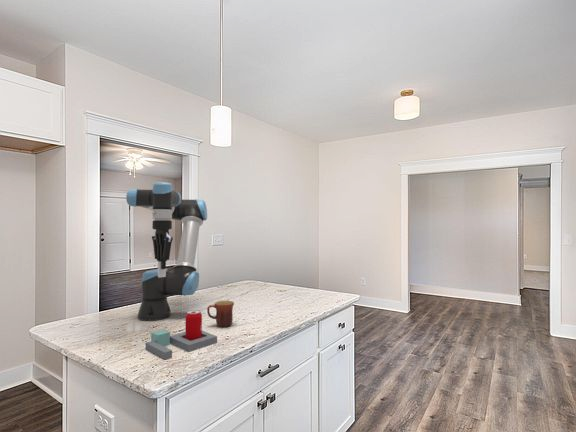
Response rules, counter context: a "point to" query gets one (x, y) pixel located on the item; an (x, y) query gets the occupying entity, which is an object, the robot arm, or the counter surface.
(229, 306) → the mug
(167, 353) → the grey flat pieces
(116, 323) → the counter surface
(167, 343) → the teal cube block
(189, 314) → the beverage can
